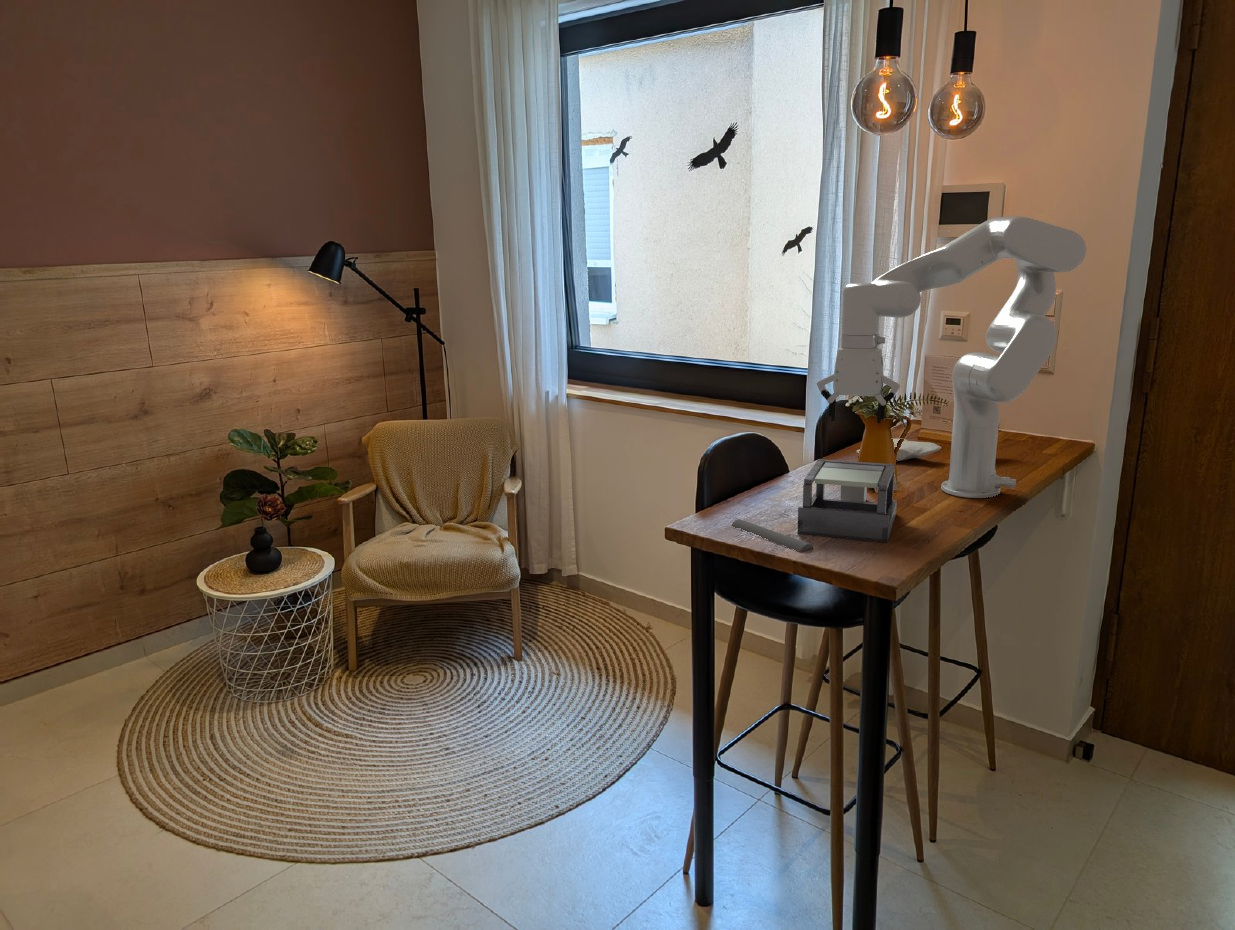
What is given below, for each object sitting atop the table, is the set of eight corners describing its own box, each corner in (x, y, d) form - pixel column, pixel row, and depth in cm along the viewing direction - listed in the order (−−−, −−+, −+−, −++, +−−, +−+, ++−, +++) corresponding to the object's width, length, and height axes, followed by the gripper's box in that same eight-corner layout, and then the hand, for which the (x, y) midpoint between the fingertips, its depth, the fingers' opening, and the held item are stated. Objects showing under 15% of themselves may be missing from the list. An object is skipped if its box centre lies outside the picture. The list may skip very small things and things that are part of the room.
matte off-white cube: (866, 499, 199) (867, 473, 197) (863, 506, 194) (864, 479, 193) (843, 497, 201) (844, 472, 199) (840, 504, 196) (841, 478, 195)
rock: (907, 473, 220) (945, 458, 228) (906, 455, 219) (944, 441, 227) (842, 463, 238) (879, 449, 246) (840, 446, 237) (878, 433, 244)
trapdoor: (883, 477, 184) (884, 466, 184) (876, 495, 172) (877, 483, 172) (825, 473, 189) (825, 462, 188) (814, 490, 177) (814, 478, 176)
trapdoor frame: (896, 513, 188) (898, 463, 186) (887, 542, 171) (890, 488, 169) (813, 506, 195) (815, 458, 192) (797, 533, 178) (798, 480, 175)
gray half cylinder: (799, 555, 167) (799, 546, 167) (729, 529, 183) (729, 521, 182) (815, 550, 170) (815, 541, 169) (744, 525, 185) (745, 517, 185)
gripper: (903, 340, 189) (899, 419, 193) (821, 339, 195) (819, 416, 199) (900, 345, 182) (896, 427, 186) (815, 343, 188) (813, 422, 193)
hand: (856, 421), depth 193 cm, fingers open, 9 cm apart
